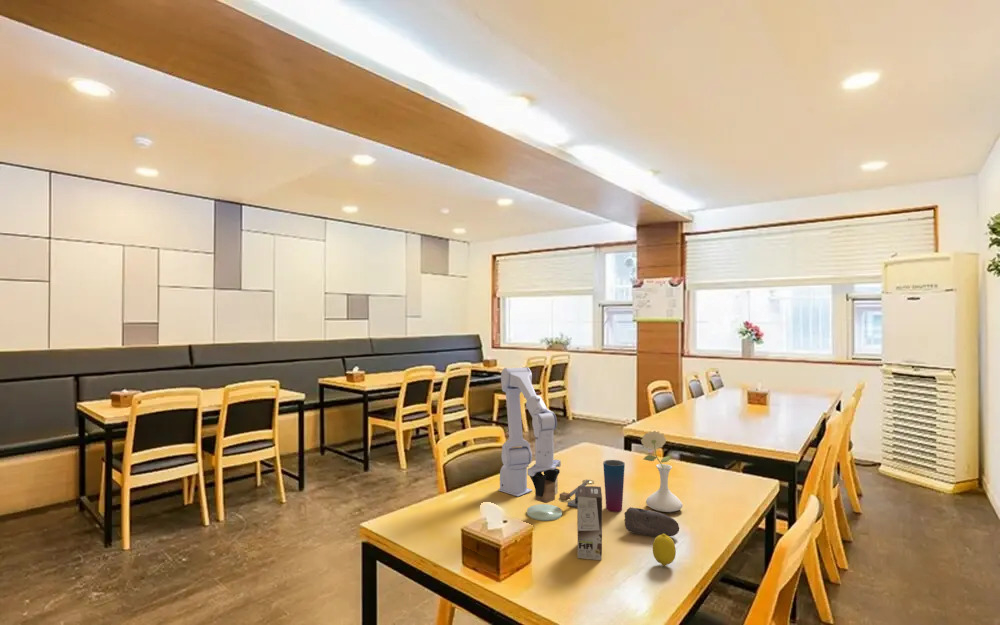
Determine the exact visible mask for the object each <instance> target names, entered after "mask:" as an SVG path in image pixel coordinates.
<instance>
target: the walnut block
mask: <svg viewBox="0 0 1000 625" xmlns="http://www.w3.org/2000/svg"><path fill="white" fill-rule="evenodd" d="M534 492H535V494H534V496H535V497H534V500H535V501H537V502H541V503H542V504H548V503H550V502H553V501H555V499H556V495H555V482H552V481H549V480H545V483H544V493H543V496H542V497H540V496H537V495H536V491H535V490H534Z"/></svg>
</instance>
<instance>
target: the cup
mask: <svg viewBox="0 0 1000 625" xmlns="http://www.w3.org/2000/svg"><path fill="white" fill-rule="evenodd" d="M602 465H603V478H604V479H603V480H604V481H603V482H604V494H605V510H607V511H609V512H612V513H618V512H622V510H623V499H624V485H625V484H624V482H625V465H626V464H625V462H624V461H622V460H619V459H606V460H604V461H603V463H602Z"/></svg>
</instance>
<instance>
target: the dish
mask: <svg viewBox="0 0 1000 625" xmlns="http://www.w3.org/2000/svg"><path fill="white" fill-rule="evenodd" d="M526 514H527V517H529V518H531V519H533V520H537V521H544V522H547V521H548V522H549V521H555V520H559V519H560V518H561V517H562V516H563V510H562V509H561V507H559V506H557V505H552V504H548V503H542V504H541V503H540V504H534V505H531V506H529V507H528V508H527V510H526Z"/></svg>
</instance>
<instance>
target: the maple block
mask: <svg viewBox="0 0 1000 625" xmlns="http://www.w3.org/2000/svg"><path fill="white" fill-rule="evenodd" d="M558 478H559V477H557V478H556V481H555V496H556V495H557V494H558V493H559V492H558V489H559V488H558V483H559V482H558Z"/></svg>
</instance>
